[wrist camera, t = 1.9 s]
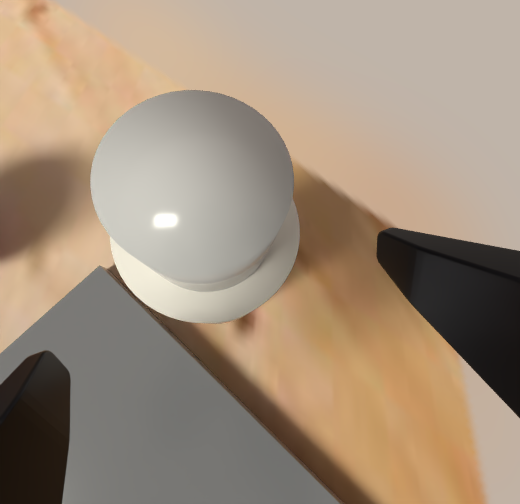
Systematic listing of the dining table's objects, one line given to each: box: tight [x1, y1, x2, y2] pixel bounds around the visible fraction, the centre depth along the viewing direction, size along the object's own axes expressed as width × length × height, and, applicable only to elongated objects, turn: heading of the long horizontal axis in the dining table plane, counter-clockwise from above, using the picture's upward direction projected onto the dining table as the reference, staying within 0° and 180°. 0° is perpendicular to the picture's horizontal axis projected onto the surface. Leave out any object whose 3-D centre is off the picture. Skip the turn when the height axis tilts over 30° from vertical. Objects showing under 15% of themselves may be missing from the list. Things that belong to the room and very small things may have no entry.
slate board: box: [0, 266, 344, 504], centre depth 14 cm, size 20×10×1 cm, turn 47°
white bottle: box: [90, 90, 300, 324], centre depth 11 cm, size 5×5×12 cm
